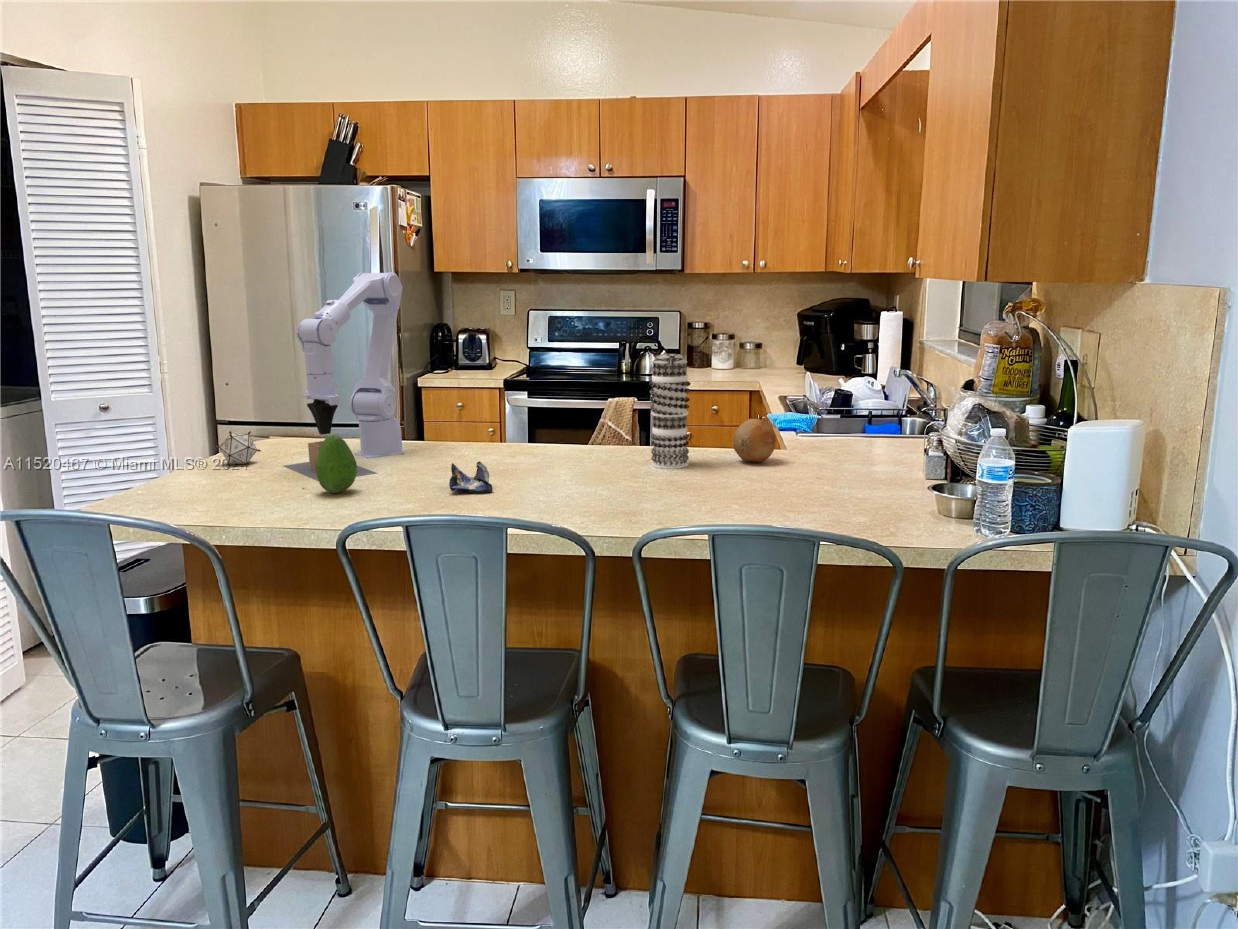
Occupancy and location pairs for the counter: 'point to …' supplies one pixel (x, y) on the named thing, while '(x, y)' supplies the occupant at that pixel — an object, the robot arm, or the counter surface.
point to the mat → (305, 470)
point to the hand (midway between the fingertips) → (324, 433)
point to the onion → (754, 440)
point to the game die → (238, 448)
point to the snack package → (471, 480)
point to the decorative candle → (669, 411)
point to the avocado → (335, 465)
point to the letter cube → (314, 453)
